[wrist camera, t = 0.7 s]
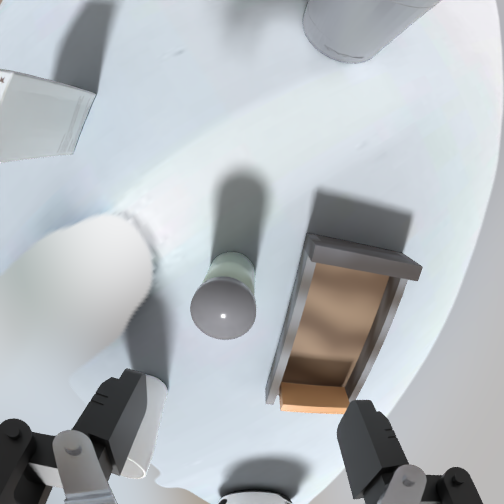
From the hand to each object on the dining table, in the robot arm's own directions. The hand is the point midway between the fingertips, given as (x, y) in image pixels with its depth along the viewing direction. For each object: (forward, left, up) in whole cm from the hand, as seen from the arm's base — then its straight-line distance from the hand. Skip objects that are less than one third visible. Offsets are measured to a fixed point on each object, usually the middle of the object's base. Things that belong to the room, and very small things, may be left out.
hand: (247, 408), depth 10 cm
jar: (+3, -2, -22) cm, 23 cm away
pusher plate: (+17, +11, -21) cm, 29 cm away
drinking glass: (+23, -11, -22) cm, 34 cm away
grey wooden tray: (+8, +11, -22) cm, 26 cm away
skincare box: (-12, -25, -22) cm, 36 cm away
